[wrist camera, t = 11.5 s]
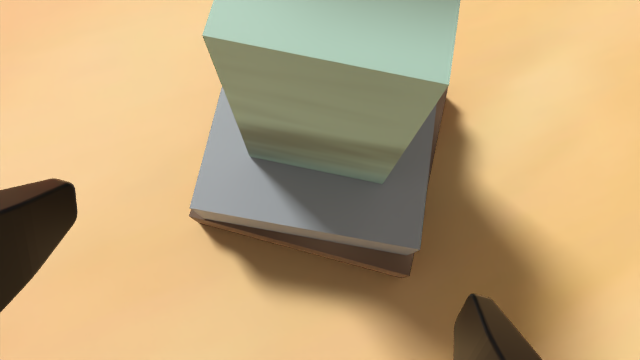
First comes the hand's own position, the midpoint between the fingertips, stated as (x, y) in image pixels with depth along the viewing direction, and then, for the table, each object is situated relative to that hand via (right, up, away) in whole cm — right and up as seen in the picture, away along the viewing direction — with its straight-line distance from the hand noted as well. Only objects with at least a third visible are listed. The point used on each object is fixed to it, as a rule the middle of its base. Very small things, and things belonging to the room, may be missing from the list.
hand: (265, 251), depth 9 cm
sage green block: (+2, +5, +10) cm, 11 cm away
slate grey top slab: (+1, +4, +13) cm, 13 cm away
